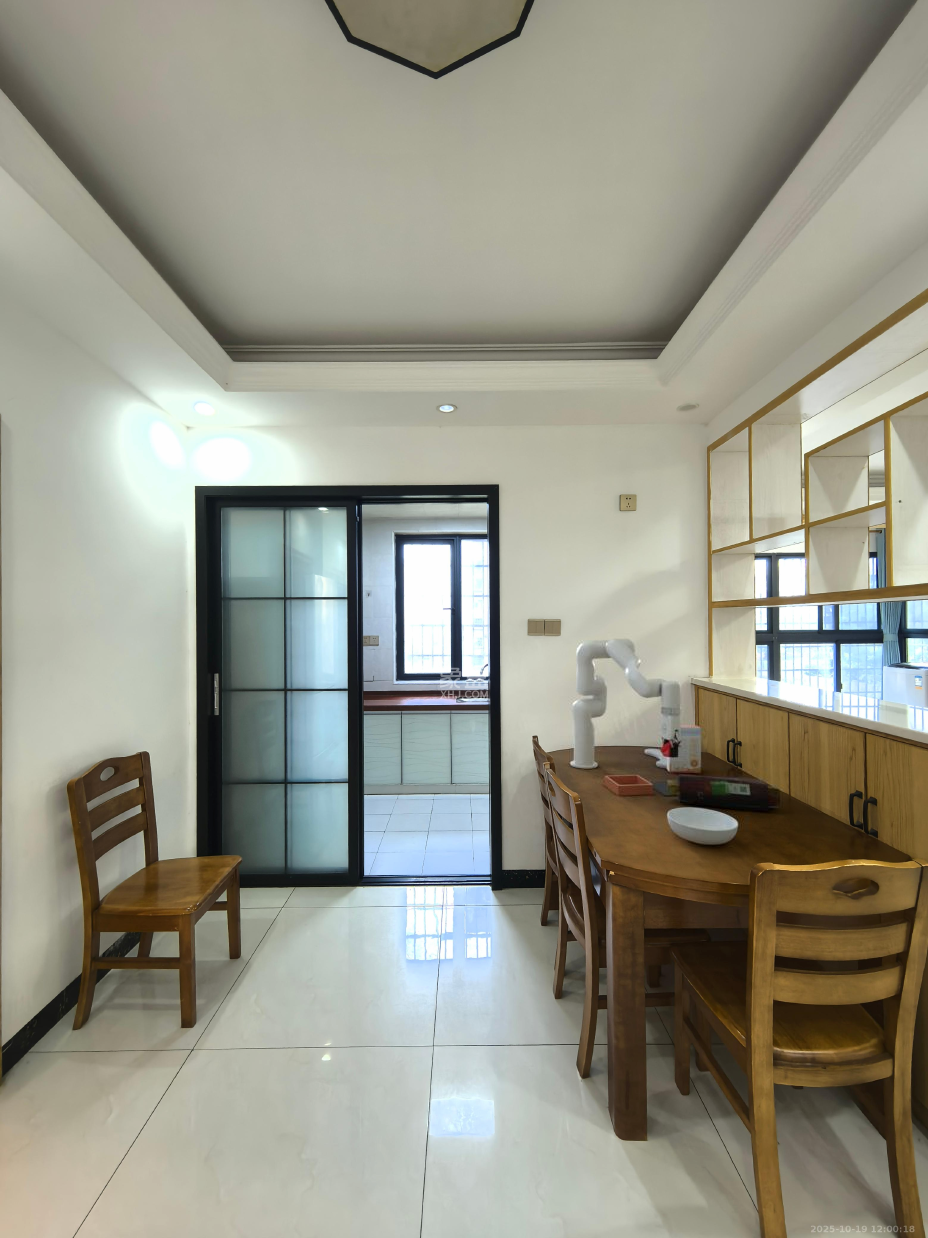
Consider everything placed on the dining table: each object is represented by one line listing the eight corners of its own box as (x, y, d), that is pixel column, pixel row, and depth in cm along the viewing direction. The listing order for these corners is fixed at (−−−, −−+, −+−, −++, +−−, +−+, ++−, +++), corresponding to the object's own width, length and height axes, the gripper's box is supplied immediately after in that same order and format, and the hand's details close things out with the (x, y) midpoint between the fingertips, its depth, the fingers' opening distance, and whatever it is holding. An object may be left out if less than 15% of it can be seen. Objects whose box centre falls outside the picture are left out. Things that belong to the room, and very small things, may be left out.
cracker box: (697, 770, 272) (697, 725, 272) (701, 774, 266) (701, 727, 266) (665, 769, 273) (666, 724, 273) (669, 772, 267) (669, 726, 267)
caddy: (604, 785, 247) (604, 775, 247) (637, 784, 249) (637, 774, 249) (618, 795, 232) (618, 785, 232) (653, 794, 234) (653, 784, 234)
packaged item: (668, 804, 222) (668, 778, 222) (665, 797, 231) (666, 771, 231) (782, 814, 212) (783, 786, 212) (775, 805, 222) (775, 779, 222)
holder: (658, 769, 274) (659, 758, 274) (642, 752, 308) (643, 742, 308) (701, 770, 272) (701, 759, 272) (680, 753, 306) (680, 743, 306)
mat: (645, 783, 250) (645, 782, 250) (676, 782, 252) (676, 781, 252) (665, 796, 232) (665, 795, 232) (698, 795, 234) (698, 794, 234)
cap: (663, 758, 239) (663, 743, 239) (658, 755, 245) (658, 740, 245) (683, 758, 239) (683, 744, 239) (678, 755, 245) (678, 741, 245)
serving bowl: (702, 857, 174) (702, 833, 174) (653, 832, 193) (653, 811, 193) (753, 846, 182) (753, 824, 182) (701, 824, 201) (701, 804, 201)
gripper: (652, 708, 250) (652, 750, 250) (672, 715, 233) (671, 760, 233) (669, 708, 251) (668, 750, 251) (690, 714, 234) (689, 760, 234)
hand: (670, 755), depth 242 cm, fingers closed on cap, 5 cm apart
